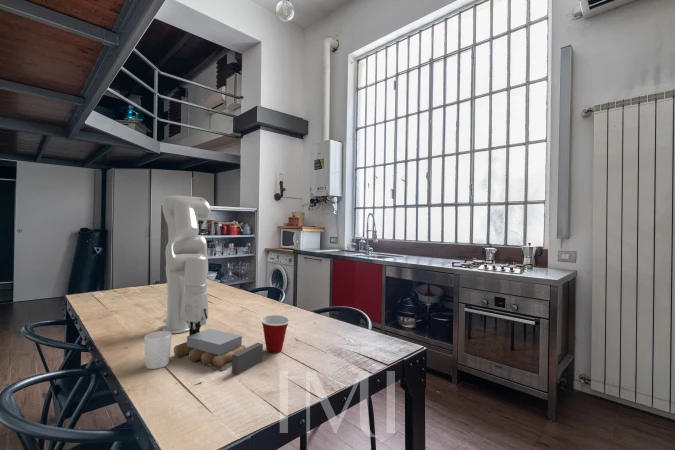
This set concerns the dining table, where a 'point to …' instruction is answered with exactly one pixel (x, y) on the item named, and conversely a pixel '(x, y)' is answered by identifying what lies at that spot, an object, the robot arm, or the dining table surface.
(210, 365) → the grey flat plate
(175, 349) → the roller bed
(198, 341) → the slab
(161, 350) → the white cup
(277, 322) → the plastic cup
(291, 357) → the dining table surface
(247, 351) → the block
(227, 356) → the roller
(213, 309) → the dining table surface
